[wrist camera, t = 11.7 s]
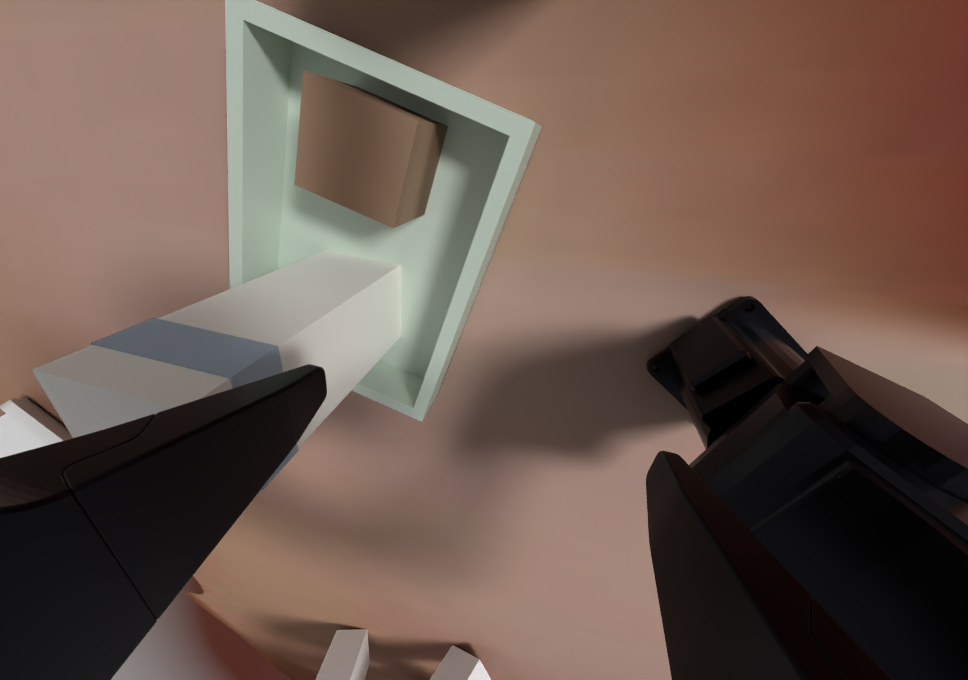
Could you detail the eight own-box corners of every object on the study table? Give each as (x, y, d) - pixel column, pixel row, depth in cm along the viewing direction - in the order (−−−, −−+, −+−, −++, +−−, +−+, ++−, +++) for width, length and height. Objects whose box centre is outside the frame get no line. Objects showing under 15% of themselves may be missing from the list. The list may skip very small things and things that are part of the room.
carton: (401, 263, 22) (183, 408, 9) (401, 337, 24) (229, 526, 12) (324, 249, 22) (28, 367, 10) (332, 322, 25) (102, 487, 13)
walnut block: (448, 126, 18) (418, 120, 14) (424, 214, 20) (393, 228, 16) (355, 85, 18) (303, 70, 14) (342, 178, 20) (294, 184, 16)
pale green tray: (542, 127, 17) (535, 122, 14) (439, 390, 26) (421, 421, 23) (285, 15, 17) (224, -14, 14) (269, 315, 26) (230, 336, 23)
